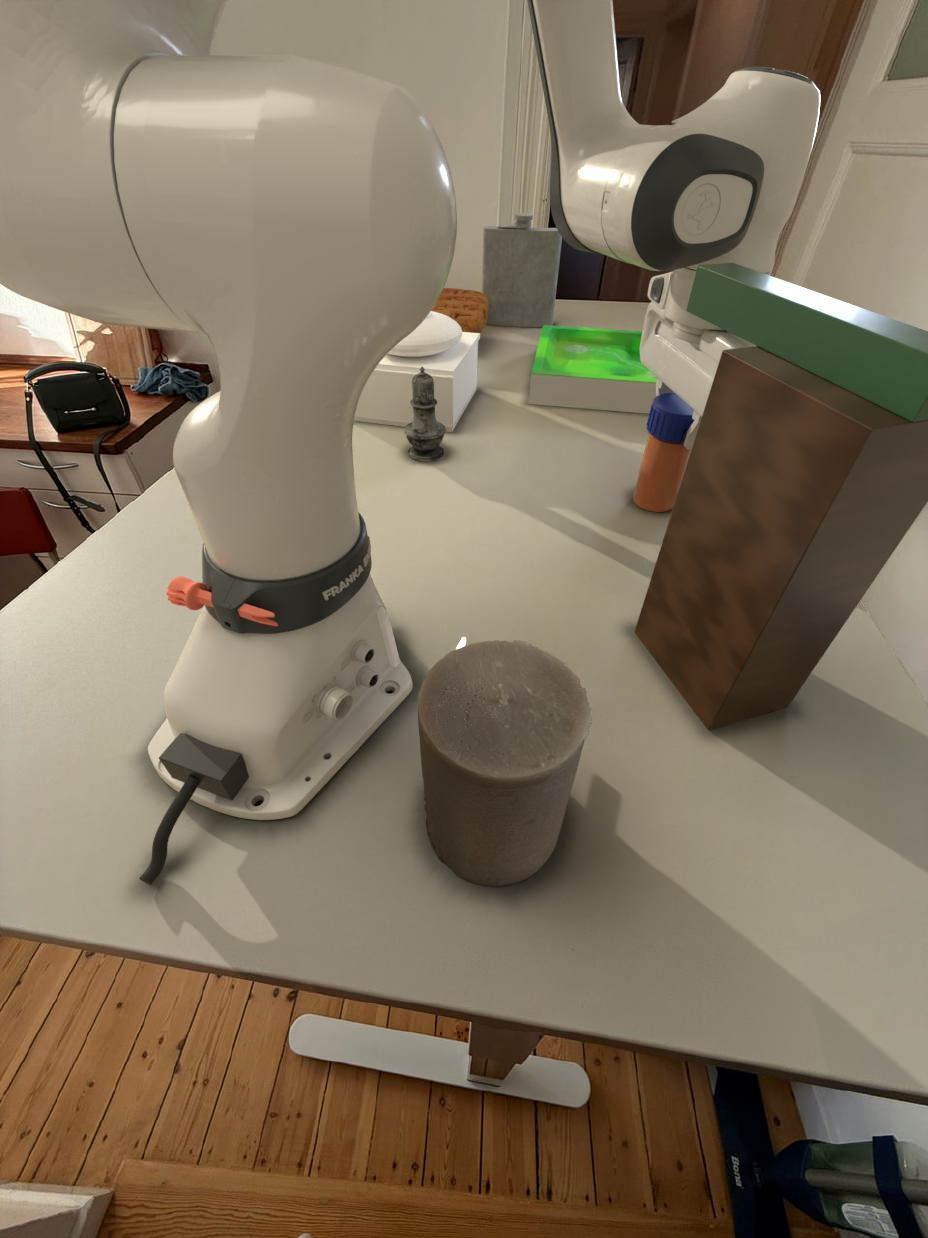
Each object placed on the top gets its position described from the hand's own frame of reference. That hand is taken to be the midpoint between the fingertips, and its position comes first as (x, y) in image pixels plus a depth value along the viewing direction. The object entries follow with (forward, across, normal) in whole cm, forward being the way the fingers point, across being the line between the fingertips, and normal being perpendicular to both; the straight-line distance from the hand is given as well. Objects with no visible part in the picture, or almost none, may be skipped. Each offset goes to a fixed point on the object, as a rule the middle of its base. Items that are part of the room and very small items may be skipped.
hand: (675, 432), depth 65 cm
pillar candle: (+10, -38, +29) cm, 49 cm away
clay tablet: (+9, +64, +18) cm, 68 cm away
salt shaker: (+9, +17, +28) cm, 34 cm away
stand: (+10, -27, +7) cm, 30 cm away
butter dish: (+9, +35, +27) cm, 45 cm away
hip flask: (+9, +74, +1) cm, 74 cm away
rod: (-17, -24, +8) cm, 30 cm away
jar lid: (0, 0, 0) cm, 0 cm away
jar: (+9, 0, 0) cm, 9 cm away
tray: (+9, +39, -7) cm, 41 cm away
